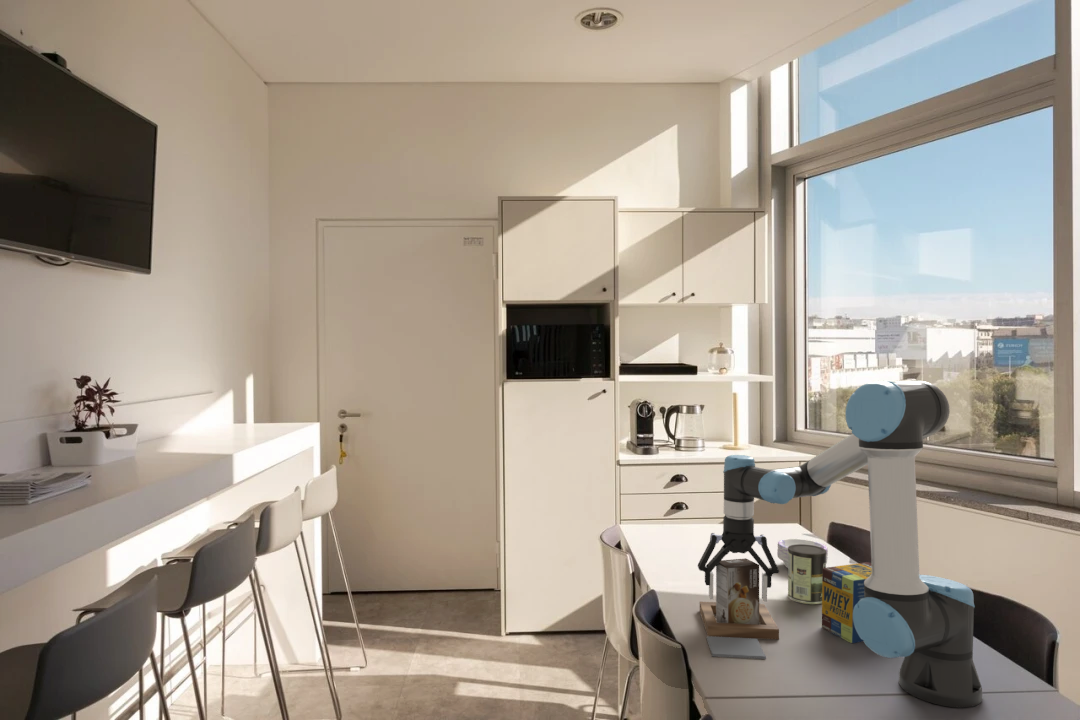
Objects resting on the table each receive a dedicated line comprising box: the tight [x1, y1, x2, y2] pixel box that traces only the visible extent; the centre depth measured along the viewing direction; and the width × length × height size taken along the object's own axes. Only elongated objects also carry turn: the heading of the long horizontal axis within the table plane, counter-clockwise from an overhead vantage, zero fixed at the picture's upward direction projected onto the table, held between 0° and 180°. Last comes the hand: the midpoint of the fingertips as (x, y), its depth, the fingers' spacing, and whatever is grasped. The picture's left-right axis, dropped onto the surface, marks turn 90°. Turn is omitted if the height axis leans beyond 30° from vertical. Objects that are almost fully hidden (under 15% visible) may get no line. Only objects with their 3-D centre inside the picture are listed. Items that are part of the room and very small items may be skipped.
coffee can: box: [787, 544, 827, 605], centre depth 203 cm, size 10×10×14 cm
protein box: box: [821, 561, 872, 644], centre depth 179 cm, size 10×15×16 cm
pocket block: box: [699, 601, 780, 640], centre depth 183 cm, size 17×17×2 cm
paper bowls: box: [777, 538, 829, 569], centre depth 230 cm, size 15×15×8 cm
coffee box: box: [715, 557, 760, 625], centre depth 183 cm, size 9×6×16 cm
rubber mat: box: [706, 635, 767, 660], centre depth 169 cm, size 10×12×1 cm
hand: (737, 598), depth 183 cm, fingers open, 13 cm apart
